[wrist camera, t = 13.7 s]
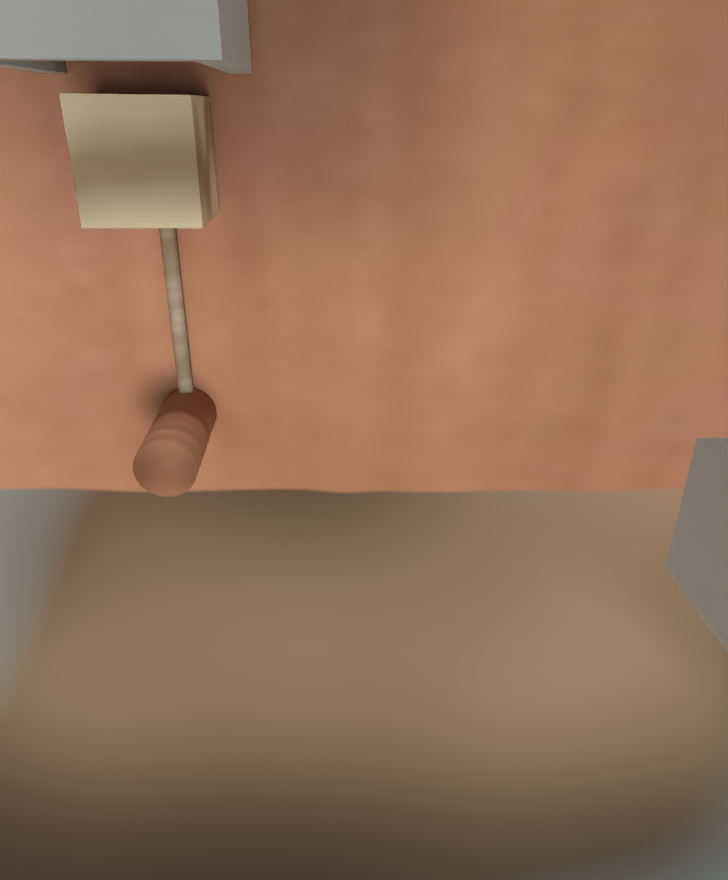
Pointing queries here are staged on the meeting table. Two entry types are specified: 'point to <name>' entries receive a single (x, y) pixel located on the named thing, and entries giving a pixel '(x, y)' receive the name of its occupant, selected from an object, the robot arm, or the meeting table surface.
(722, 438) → the robot arm
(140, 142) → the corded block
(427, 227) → the meeting table surface
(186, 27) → the box
